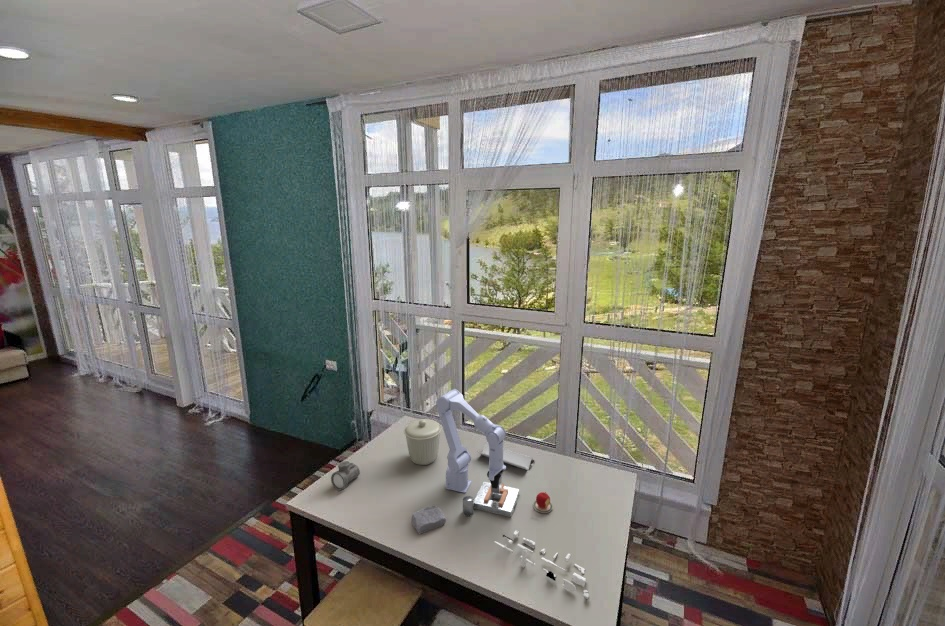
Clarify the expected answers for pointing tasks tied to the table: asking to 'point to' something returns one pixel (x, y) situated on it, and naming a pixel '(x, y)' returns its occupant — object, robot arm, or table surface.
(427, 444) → the canister
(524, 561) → the miniature set
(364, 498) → the table surface
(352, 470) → the pipe fitting
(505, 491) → the bracket
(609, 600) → the table surface
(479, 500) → the silver base plate
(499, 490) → the grey rectangular box
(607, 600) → the table surface
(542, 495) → the red apple on plate
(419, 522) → the stone block
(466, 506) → the stub post
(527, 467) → the z bracket
